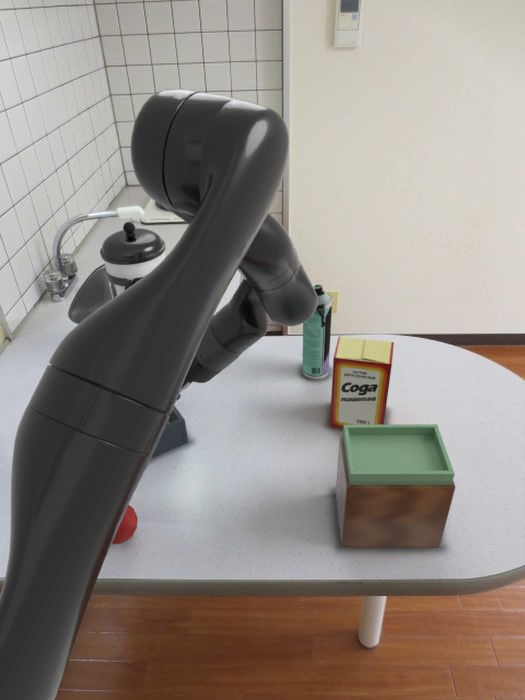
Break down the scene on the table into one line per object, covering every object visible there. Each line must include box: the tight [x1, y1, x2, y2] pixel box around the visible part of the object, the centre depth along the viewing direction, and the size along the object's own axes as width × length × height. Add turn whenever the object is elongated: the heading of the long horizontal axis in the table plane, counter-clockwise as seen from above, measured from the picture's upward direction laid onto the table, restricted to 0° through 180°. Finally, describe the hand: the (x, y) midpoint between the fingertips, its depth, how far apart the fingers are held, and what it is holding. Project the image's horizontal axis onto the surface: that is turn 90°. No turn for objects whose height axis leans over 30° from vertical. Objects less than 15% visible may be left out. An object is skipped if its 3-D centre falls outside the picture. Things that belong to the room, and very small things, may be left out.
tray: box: [342, 423, 455, 485], centre depth 71 cm, size 13×9×2 cm
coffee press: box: [99, 221, 167, 299], centre depth 109 cm, size 17×16×30 cm
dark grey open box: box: [150, 405, 189, 460], centre depth 94 cm, size 14×14×6 cm
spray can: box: [302, 284, 333, 380], centre depth 104 cm, size 6×6×20 cm
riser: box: [335, 433, 456, 548], centre depth 76 cm, size 14×10×13 cm
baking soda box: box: [329, 335, 395, 429], centre depth 93 cm, size 10×6×16 cm
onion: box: [111, 504, 139, 545], centre depth 76 cm, size 6×6×8 cm
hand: (153, 396), depth 89 cm, fingers open, 8 cm apart
